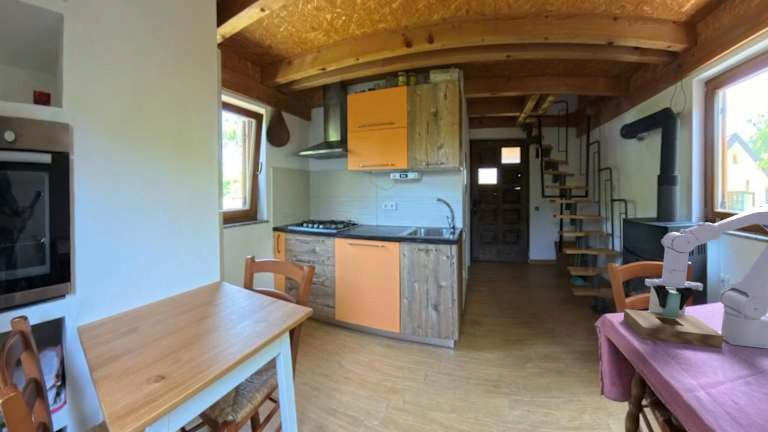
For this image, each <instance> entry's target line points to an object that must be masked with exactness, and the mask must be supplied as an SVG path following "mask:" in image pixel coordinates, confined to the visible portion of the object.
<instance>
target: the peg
mask: <svg viewBox="0 0 768 432" xmlns="http://www.w3.org/2000/svg"><path fill="white" fill-rule="evenodd" d="M668 291H669V293H668V296H667V300H666V307H665V309H664V308H662V314H663V315H664V316H667V317H671V318H678V315H679V307H680V299H681V293H679V292H676V291H671V290H668Z"/></svg>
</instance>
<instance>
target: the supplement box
mask: <svg viewBox="0 0 768 432" xmlns="http://www.w3.org/2000/svg"><path fill="white" fill-rule="evenodd" d="M665 288H667V290H671V291H676V288H673V287H665ZM649 311H650V312H658V313H662V308H661V307H660V306H659V301H658V298H657V295H656V292H655V290H654V288H653V287H652V286H650V293H649V306H648V312H649ZM685 313H686V304H685V305H684V307H683V310H679V315H686V314H685Z"/></svg>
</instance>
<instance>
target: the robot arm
mask: <svg viewBox="0 0 768 432" xmlns="http://www.w3.org/2000/svg"><path fill="white" fill-rule="evenodd" d="M752 225H760V226H761V227H762V228H764V229H765V230H766V231H767V232H768V203H765V204H761V205H758V206H753V207H749V209H748V210H746V211H743V212H741V213H737V214H736V215H732V216H730V217H728V218H725V219H723V220H720V221H718V222H717V221H716V222H715V223H711V222H707V221H706V222H703V221H700V222H696V225H694V226H692V227H689V228H685V229H684V228H681V229H679V231H678V232H675V231H672V232H668V233H666V234H665V235H664V236H663V238H662V239H661V240H660V242H661V244H662V246H663V247H664V253H663V263H662V264H663V265H662V273H661V278H645V280H644V281H645V282H644V285H645V286H647V287H651V286H652V287H653V288H654V290H655V292H656V295H657V298H658V301H659V306H660V307H661V308H664V309H665V307H666V300H667V296H668V293H669V291H668V290H667V288H665V287H673V288H676V292H679V293H681V299H680V307H679V310H683V307H684V305H685V304H686V303H687V302H688V301H689V300H690V299H691V298H692V297H693V296H694V295H695V290H697V291H703V289H704V284H703V283H700V282H695V281H694V282H693V281H687V274H688V264H689V255H690V252H691V251H693V250H695V247H697V246H700V245H703V244H706V243H709V242H711V241H715V240H718V239H720V238H721V236H722V234H723V233H727V232H731V231H735V230H738V229H742V228H745V227H749V226H752ZM718 299H719V302H720V303H721V304H722V305H723V307H722V308H723V309H724V310H723V316H722V324H721V331H717V330H716V331H717V332H718V333H720V334H721V335H723V341H726V342H727V343H729V344H730V345H735V346H742V347H744V346H745V347H750V348H751V347H752V348H761V349H767V350H768V318H767V317H765V316H766V315H767V314H768V243H767V245H766V246H765V247H764V248H763V250H762V251H761V253H760V254H759V255H758V258H756V260H755V261H754V262H753V264H752V265H751V267H750V268H749V270H748V271H747V273H746V274H745V275H744V277H743V278H742V279H741V281H738V282H734V283H731V285H730V286H729V287H728V288H727V289H726V288H725V289H724V290H723V291H721V292H720V294H719V298H718Z"/></svg>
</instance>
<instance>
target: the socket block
mask: <svg viewBox="0 0 768 432" xmlns="http://www.w3.org/2000/svg"><path fill="white" fill-rule="evenodd" d="M623 321H625V323H627V324H628V326H629V327H630V328H631V329H632V330H633V331H635V332H636V334H637V335H638V336H640V337H641V339H644V340H651V341H659V342H668V343H676V344H682V345H683V344H684V345H693V346H699V347H700V346H703V347H707V348H708V347H709V348H716V349H718V348H719V349H722V348H723V343H724V339H723V335H721V334H720V333H718V332H717V330H715V329H714V328H712V327H710V325H708V324H706V323H704V322H703V321H701V320H699V319H698V318H697V317H695V316H694V315H687V314H685V315H678V318H671V317H667V316H664V315H663V314H662V313H658V312H649V310H648V311H645V310H637V309H635V310H634V309H628V308H627V309H626V308H624V309H623Z"/></svg>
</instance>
